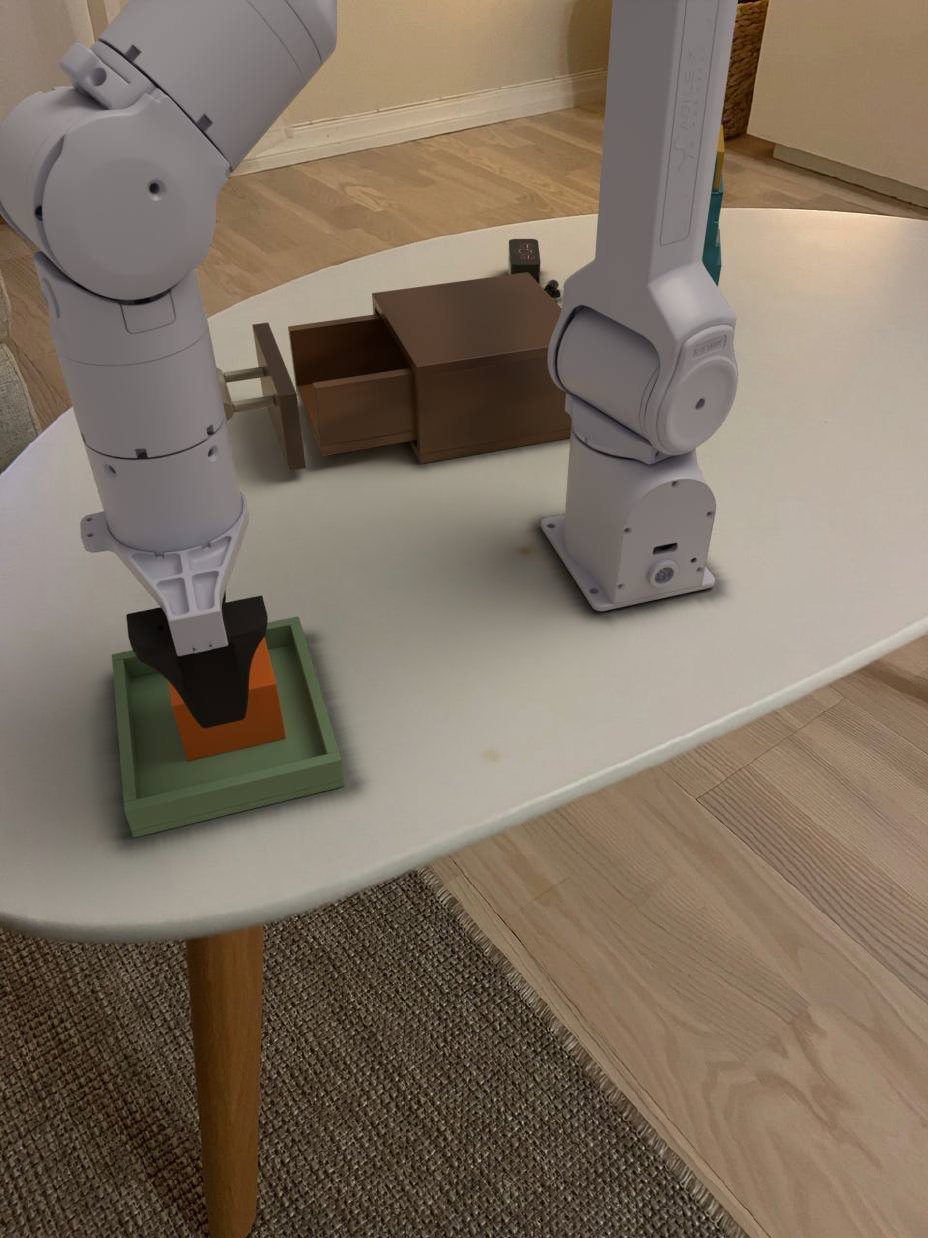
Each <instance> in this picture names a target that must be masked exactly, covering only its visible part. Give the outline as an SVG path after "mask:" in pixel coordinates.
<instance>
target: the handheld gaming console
mask: <svg viewBox="0 0 928 1238" xmlns="http://www.w3.org/2000/svg"><path fill="white" fill-rule="evenodd" d="M724 137H725V136H724V125H723V124H722V123H721V126H720V133H719V140H718V147H717V155H716V162H715V169H714V176H713V183H712V190H711V198H710V205H709V212H708V219H707V226H706V234H705V241H704V248H703V255H702V262H703V264H704V266H705V268H706V270H707V272H708V273H709V275H710V276H711V278H712V279H713V281H714V282H715V284H716V285H717V287H718V288H719V283H720V278H721V270H722V266H723V265H722V248H721V229H720V216H721V209H722V203H723V197H724V182H723V166H724V159H725V138H724Z"/></svg>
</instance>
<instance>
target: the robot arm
mask: <svg viewBox="0 0 928 1238" xmlns="http://www.w3.org/2000/svg"><path fill="white" fill-rule="evenodd" d="M738 2H739V0H612V3H611V4H612V5H611V6H612V7H611V21H610V34H609V35H610V36H609V47H608V48H609V49H608V63H607V65H608V66H607V78H606V79H607V80H606V90H605V91H606V95H605V105H604V106H605V108H604V122H603V135H602V136H603V137H602V151H601V167H600V181H599V193H598V194H599V195H598V209H597V224H596V239H595V255H594V259H593V260H592V261H590V262H588V263H587V264H585V265H584V266H581V268H579V269H578V270H576V271H575V272H573V273H572V274H571V275H570V276H568V277H567V278H566V279H565V281H564V283H563V297H562V306H561V308H562V310H561V313H560V317H559V320H558V322H557V324H556V327H555V329H554V331H553V334H552V336H551V340H550V343H549V348H548V359H547V362H548V370H549V373H550V376H551V378H552V380H553V382H554V383H555V384H556V385H557V387H558V388H560V389H561V390H563V391H565V392H566V402H565V411H566V412H567V413H568V414H569V415H570V416H571V420H572V425H571V436H570V438H569V452H568V464H567V465H568V466H567V479H566V480H567V481H566V493H565V507H564V514H559V515H553V516H549V517H544V518H542V519H541V521H540V528H541V530H542V531H543V533H544V535H545V536H546V538H547V540H548V541H549V542H550V544H551V545H552V547H553V548H554V550H555V552H556V554H558V557H559V558H560V560H561V561H562V562H563V564H564V565H565V568H566V569H567V570H568V572H569V573H570V575H571V576H572V578H573V580H574V581H575V583H576V585H577V586H578V587H579V589H580V590H581V592H582V593H583V595H584V597H585V599H586V601H588V603H589V605H590V606H591V608H592V609H593V610H595V611H597V612H605V611H609V610H615V609H620V608H624V607H628V606H634V605H638V604H642V603H647V602H651V601H655V600H661V599H664V598H665V599H666V598H670V597H674V596H678V595H679V596H680V595H683V594H687V593H692V592H697V591H701V590H706V589H710V588H713V587H714V586H715V584H716V578H715V576H714V575H713V573H712V572H711V571H710V570H709V569H708V567H707V566H706V565H707V561H708V556H709V550H710V544H711V540H712V534H713V530H714V524H715V519H716V513H717V500H716V496H715V494H714V491H713V489H712V488H711V486H710V485H709V483H708V482H707V480H706V478H705V477H704V475H703V473H702V470H701V467H700V465H699V462H698V461H699V460H698V456H697V450H696V449H697V448H699V446H701V445H703V444H704V443H706V442H708V440H709V439H711V438H712V437H713V435H715V433H716V432H717V431H718V430H719V429H720V428H721V426H722V425H723V424H724V422H725V421H726V419H727V417H728V415H729V413H730V412H731V410H732V407H733V404H734V403H735V399H736V396H737V390H738V383H739V366H738V362H737V357H736V355H735V348H734V347H735V346H734V340H735V332H736V325H737V316H736V314H735V311H734V310H733V307H732V306H731V305H730V304H729V302H728V300H727V299H726V297H725V296H724V294H723V293H722V291H721V290H720V288H719V286H718V287H717V285H716V284H715V282H714V281H713V279H712V278H711V276H710V275H709V273H708V272H707V270H706V268H705V266H704V264H703V262H702V255H703V248H704V241H705V234H706V226H707V219H708V212H709V205H710V198H711V190H712V183H713V176H714V169H715V162H716V155H717V147H718V140H719V133H720V126H721V124H722V118H723V111H724V103H725V97H726V89H727V83H728V75H729V68H730V60H731V55H732V54H731V53H732V46H733V40H734V32H735V24H736V17H737V11H738V4H739V3H738ZM337 42H338V0H128V1H127V3H126V4H125V5H124V7H123V8H122V9H121V10H120V12H119V13H118V14H117V15H116V16H115V17H114V18H113V20H112V21H111V22H110V23H109V24H108V26H107V27H106V28H104V31H103V32H102V33H101V34H100V35H99V36H98V37H97V40H96V41H94V43H93V44H92V45H91V46H90V47H87V46H86V45H84V44H82V43H80V42H78V41H75V42H74V43H73V44H72V45H71V47H70V48H69V49H68V50H67V51H66V52H65V54H64V55H63V57H61V59H59V68H60V70H62V72H63V73H64V74H65V75H66V76H67V77H68V78H69V81H70V83H71V86H69V85H68V86H67V85H66V86H65V85H60V86H59V85H58V86H53V87H51V90H50V91H46V92H43V91H42V90H39V91H36V92H34V93H32V94H31V95H29V96H27V97H25V98H24V99H22V100H21V101H20V102H18V104H17V105H16V106H15V107H14V108H12V110H10V111H9V113H8V115H7V116H6V118H4V120H3V122H1V126H0V215H1V217H2V218H3V219H4V220H5V222H6V223H7V224H8V225H9V226H10V227H11V228H12V229H13V230H14V231H15V232H16V233H17V234H18V235H19V236H21V237H22V238H23V239H24V240H26V241H27V242H28V243H30V244H31V245H33V246H34V247H36V249H38V251H37V252H35V253H34V254H33V255H32V261H33V265H34V268H35V271H36V275H37V278H38V281H39V284H40V293H41V297H42V299H43V302H44V305H45V307H46V309H47V312H48V315H49V316H48V317H49V331H50V336H51V339H52V342H53V346H54V349H55V352H56V356H57V359H58V363H59V366H60V370H61V372H62V376H63V380H64V382H65V386H66V390H67V393H68V397H69V400H70V403H71V407H72V410H73V414H74V417H75V419H76V423H77V426H78V429H79V433H80V436H81V439H82V443H83V445H84V449H85V452H86V455H87V459H88V462H89V466H90V469H91V472H92V476H93V479H94V483H95V487H96V489H97V493H98V497H99V499H100V503H101V506H102V509H103V511H99V512H95V513H91V514H87V515H85V516H84V517H82V518H81V520H80V522H79V527H80V528H79V529H80V538H81V539H80V540H81V542H82V545H83V548H84V550H85V552H89V553H91V554H94V553H102V552H112V553H114V554H115V555H116V556H117V558H118V559H119V560H120V561H121V562H122V564H123V565H124V566H125V568H127V569H128V570H129V572H130V573H131V574H132V575H133V576H134V577H135V579H136V580H137V581H138V582H139V583H140V585H141V586H142V587H143V588H144V589H145V590H146V591H147V593H148V594H149V595H150V596H151V598H153V600H154V601H155V602H156V603H157V605H159V607H155V608H149V609H144V610H140V611H134V612H129V613H127V614H126V617H125V618H126V626H127V627H126V629H127V636H128V637H127V638H128V640H129V644H130V648H131V650H133V651H134V653H135V655H136V656H137V657H138V659H139V660H140V661H141V662H143V663H144V664H146V665H148V666H150V667H152V668H153V669H155V670H156V671H158V672H159V673H160V674H162V675H163V676H164V677H165V678H166V679H167V680H168V681H169V682H170V683H171V684H172V685H173V687H174V688H175V689H176V691H177V692H178V694H179V695H180V697H181V698H182V700H183V702H184V703H185V705H186V706H187V708H188V710H189V711H190V713H191V714H192V716H193V717H194V719H195V720H196V721H197V722H198V724H199V725H200V726H201V727H202V728H204V729H205V728H210V727H214V726H218V725H223V724H227V723H231V722H236V721H240V720H243V719H244V718H245V716H246V712H247V706H248V695H249V677H250V668H251V664H252V660H253V657H254V654H255V652H256V650H257V648H258V646H259V644H260V642H261V641H262V640H263V638H264V637H265V635H266V630H267V623H268V622H269V621H268V620H269V619H268V618H269V617H268V612H267V609H266V605H265V600H264V597H263V595H261V594H260V595H256V596H251V597H245V598H242V599H236V600H232V601H227V594H226V593H227V587H228V584H229V582H230V578H231V575H232V574H233V573H232V572H233V569H234V566H235V564H236V561H237V558H238V555H239V552H240V550H241V547H242V544H243V540H244V539H245V534H246V532H247V529H248V526H249V522H250V512H249V507H248V501H247V498H246V496H245V494H244V493H243V491H242V490H241V489H240V484H239V479H238V473H237V469H236V464H235V458H234V453H233V448H232V443H231V437H230V431H229V426H228V420H227V419H226V414H225V410H224V405H223V400H222V394H221V389H220V384H219V378H218V373H217V368H218V367H217V363H216V357H215V352H214V348H213V347H214V346H213V341H212V337H211V332H210V324H209V321H208V315H207V309H206V306H205V303H204V302H203V296H202V290H201V285H200V280H199V275H198V270H197V269H198V268H199V266H201V265H202V264H203V263H204V261H206V260H205V259H206V258H207V255H208V253H209V251H210V249H211V246H212V243H213V239H214V236H215V230H216V221H217V201H218V198H219V195H220V193H221V191H222V190H223V188H224V187H225V185H226V184H227V183H228V182H229V181H230V179H229V177H231V175H232V173H233V172H234V171H235V170H236V169H237V168H238V167H239V166H240V164H241V163H242V162H243V161H244V159H245V158H246V157H247V156H248V155H249V154H250V153H251V152H252V150H253V149H254V147H255V146H256V145H257V144H258V143H259V142H260V140H261V139H262V138H263V137H264V136H265V134H266V133H267V132H268V131H269V130H270V128H271V127H272V126H273V125H274V123H275V122H277V120H278V119H279V118H280V117H281V115H282V114H283V113H284V112H285V111H286V110H287V108H288V107H289V106H290V105H291V103H292V102H293V101H294V100H295V99H296V97H297V96H298V95H299V94H300V93H301V92H302V90H304V88H305V87H306V86H307V85H308V84H309V82H311V80H312V79H313V78H314V76H316V74H317V73H318V72H319V71H320V69H321V68H322V67H323V65H324V64H325V63H326V62H327V61H328V60H329V59H330V58H331V56H332V55H333V54H334V52H335V50H336V48H337Z"/></svg>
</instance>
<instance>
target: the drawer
mask: <svg viewBox="0 0 928 1238" xmlns="http://www.w3.org/2000/svg"><path fill="white" fill-rule="evenodd" d="M287 331H288V338H289V339H288V340H289V346H290V354H291V361H292V369H293V376H294V377H293V378H294V384H295V385H294V384H293V380H292V378H291V376H290V373H289V371H288V368H287V366H286V364H285V361H284V359H283V356H282V353H281V351H280V349H279V346H278V343H277V340H276V338H275V336H274V333H273V330H272V329H271V326H270V324H269V322H262V323H253V324H252V332H253V333H252V334H253V339H254V347H255V352H256V353H255V354H256V359H257V366H258V367H257V366H256V367H250V368H243V369H238V370H229V371H224V372H223V370H222V369H221V368H219V367H216V368H217V373H218V378H219V384H220V389H221V394H222V400H223V405H224V410H225V414H226V419H227V421H229V420H232V418H233V417H234V415H235V413H241V412H248V411H254V410H260V409H267V412H268V414H269V417H270V420H271V423H272V425H273V429H274V432H275V434H276V437H277V440H278V443H279V446H280V449H281V452H282V454H283V457H284V461H285V463H286V466H287V469H288V471H289V472H291V471H297V470H302V469H306V468H307V465H306V457H305V448H304V442H303V441H304V440H303V434H302V432H303V431H302V426H301V425H302V424H301V418H300V410H299V402H300V404H301V407H302V409H303V412H304V414H305V417H306V418H307V422H308V423H309V426H310V428H311V431H312V434H313V436H314V439H315V442H316V443H317V444H316V445H317V447H318V449H319V452H320V454H321V456H322V457H324V456H325V457H326V456H331V455H337V454H343V453H348V452H354V451H359V450H366V449H372V448H377V447H384V446H389V445H395V444H401V443H409V441H413V440H417V431H416V407H415V383H414V371H413V369H412V368H411V366H410V364H409V363H408V361H407V359H406V358H405V356H404V354H403V353H402V351H401V349H400V348H399V346H398V344H397V343H396V341H395V339H394V338H393V336H392V334H391V333H390V331H389V329H388V328H387V326H386V324H385V323H384V321H383V319H382V318H381V316H380V314H374V315H373V314H367V315H360V316H354V317H353V316H351V317H346V318H339V319H338V318H337V319H331V320H323V321H317V322H309V323H303V324H296V325H289V326H288V327H287ZM254 379H260V385H261V392H262V393H261V394H262V396H258V397H251V398H246V399H239V400H234V401H232V400H233V399H232V397H231V393H230V390H229V387H228V383H233V382H241V381H246V380H247V381H248V380H254ZM298 399H299V401H298Z"/></svg>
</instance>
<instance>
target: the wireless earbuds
mask: <svg viewBox="0 0 928 1238" xmlns="http://www.w3.org/2000/svg"><path fill="white" fill-rule="evenodd" d="M507 257H508V259H507V261H508V263H507V271H508V274H507V275H511V274H518V273H526V272H528V273H529V274H530V275H531V276H532V277H533V278H534V279H535V280H536V281H537V282H538V284H539V285H540V286H541V283H540V282H541V254H540V246H539V241H538V239H535V238H512V239H509V240H508V255H507ZM558 288H559V282H558V281H557V280H556V279H550V280H548V282H547V283H546V285H545V287H544V288H543V289H544V290H545V291H546V292H547V293H548V294H549V295H550V296H551V298H552V299H559V298H561V290H560V289H558Z"/></svg>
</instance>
